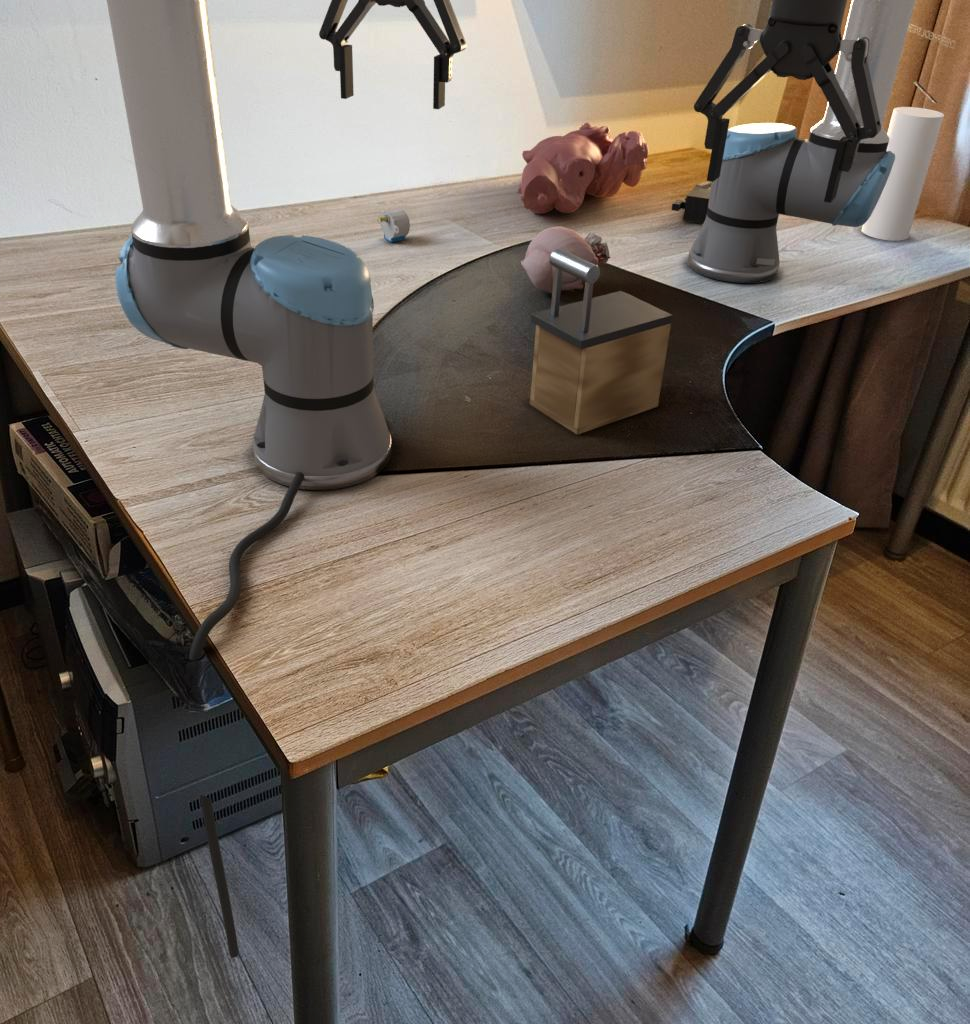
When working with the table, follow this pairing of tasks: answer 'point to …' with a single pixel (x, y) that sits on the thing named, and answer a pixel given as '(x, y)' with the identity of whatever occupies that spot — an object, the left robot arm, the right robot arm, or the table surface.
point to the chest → (597, 378)
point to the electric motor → (394, 225)
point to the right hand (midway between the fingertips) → (770, 189)
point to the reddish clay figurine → (580, 168)
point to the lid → (594, 308)
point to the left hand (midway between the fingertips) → (392, 102)
